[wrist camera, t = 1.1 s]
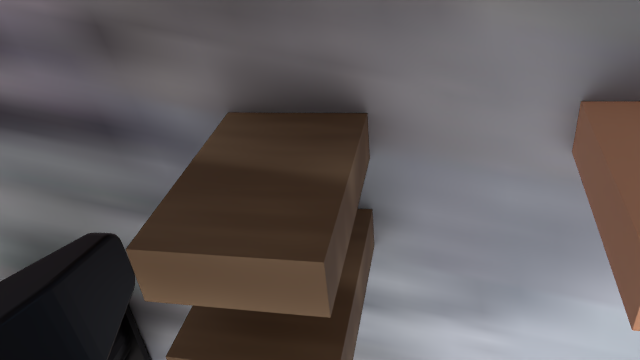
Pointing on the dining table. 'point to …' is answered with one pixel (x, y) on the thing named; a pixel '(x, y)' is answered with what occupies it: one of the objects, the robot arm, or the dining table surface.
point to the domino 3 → (614, 188)
